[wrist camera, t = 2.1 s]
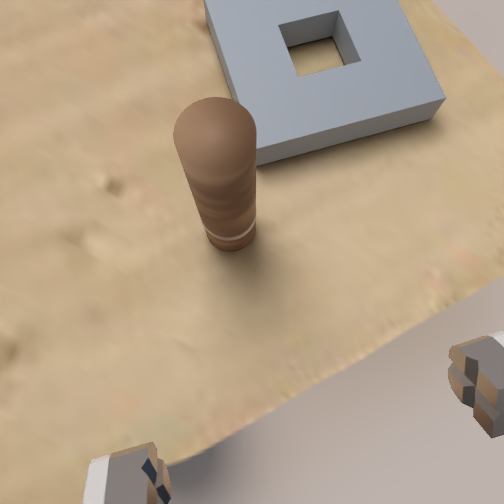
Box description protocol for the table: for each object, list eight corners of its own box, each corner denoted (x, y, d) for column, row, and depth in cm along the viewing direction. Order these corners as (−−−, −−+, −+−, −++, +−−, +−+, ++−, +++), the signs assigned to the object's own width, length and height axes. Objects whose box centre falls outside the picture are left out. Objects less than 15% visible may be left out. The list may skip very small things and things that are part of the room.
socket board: (254, 166, 30) (255, 149, 27) (206, 19, 34) (202, -8, 31) (431, 118, 31) (446, 97, 29) (365, -20, 35) (373, -49, 32)
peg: (212, 257, 28) (184, 181, 16) (199, 211, 29) (164, 108, 17) (262, 243, 28) (268, 158, 17) (247, 197, 29) (243, 88, 18)
